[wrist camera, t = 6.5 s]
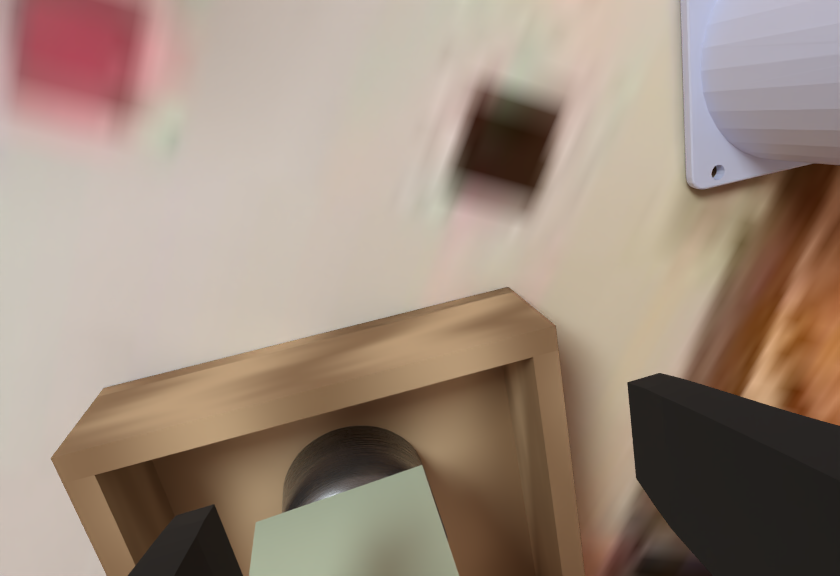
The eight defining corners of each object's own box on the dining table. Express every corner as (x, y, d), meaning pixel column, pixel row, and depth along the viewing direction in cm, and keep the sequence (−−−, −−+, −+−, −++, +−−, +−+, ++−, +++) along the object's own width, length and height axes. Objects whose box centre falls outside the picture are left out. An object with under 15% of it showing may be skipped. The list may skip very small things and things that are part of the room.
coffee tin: (410, 408, 20) (432, 468, 16) (436, 524, 21) (460, 599, 18) (265, 448, 19) (257, 518, 16) (303, 564, 21) (303, 650, 17)
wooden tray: (508, 287, 20) (555, 325, 16) (551, 583, 24) (595, 667, 21) (103, 388, 18) (50, 458, 14) (229, 688, 23) (214, 801, 19)
